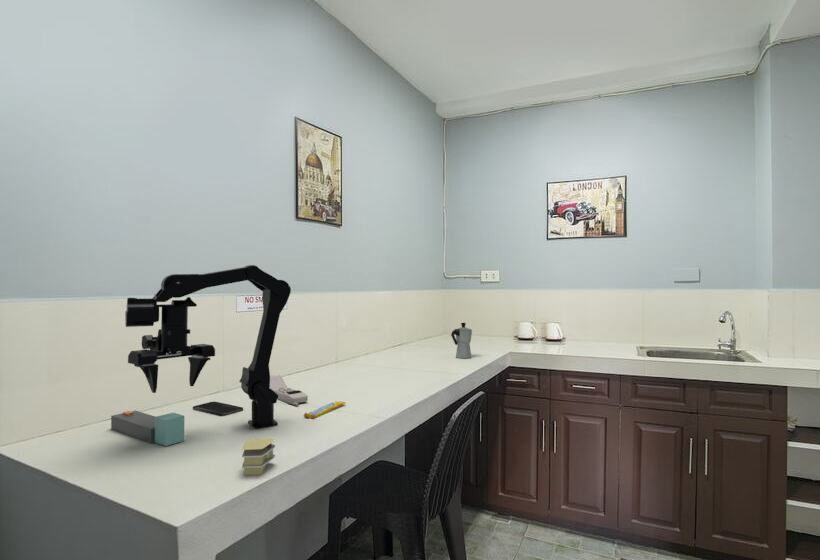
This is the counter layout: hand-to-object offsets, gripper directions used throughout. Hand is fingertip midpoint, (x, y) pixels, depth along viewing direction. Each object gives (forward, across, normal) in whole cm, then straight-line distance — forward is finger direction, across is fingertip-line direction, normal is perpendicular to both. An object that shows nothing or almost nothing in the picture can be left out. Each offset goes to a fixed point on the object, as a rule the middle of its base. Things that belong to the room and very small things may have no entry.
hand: (173, 389), depth 112 cm
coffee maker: (+10, -150, -2) cm, 150 cm away
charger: (+12, +1, 0) cm, 12 cm away
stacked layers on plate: (+13, -1, +32) cm, 34 cm away
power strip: (+12, +2, -12) cm, 17 cm away
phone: (+13, -22, -16) cm, 30 cm away
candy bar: (+12, -39, +12) cm, 43 cm away
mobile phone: (+12, -43, -10) cm, 46 cm away
